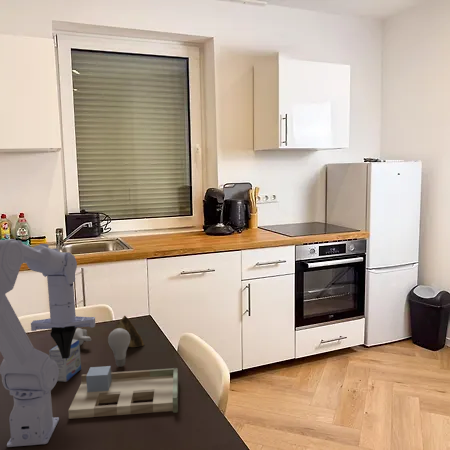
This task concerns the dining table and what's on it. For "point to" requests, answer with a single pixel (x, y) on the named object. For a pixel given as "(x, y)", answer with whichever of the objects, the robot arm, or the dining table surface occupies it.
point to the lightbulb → (119, 344)
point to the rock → (130, 332)
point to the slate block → (98, 379)
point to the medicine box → (67, 361)
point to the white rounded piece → (81, 336)
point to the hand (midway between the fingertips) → (66, 356)
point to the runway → (129, 394)
